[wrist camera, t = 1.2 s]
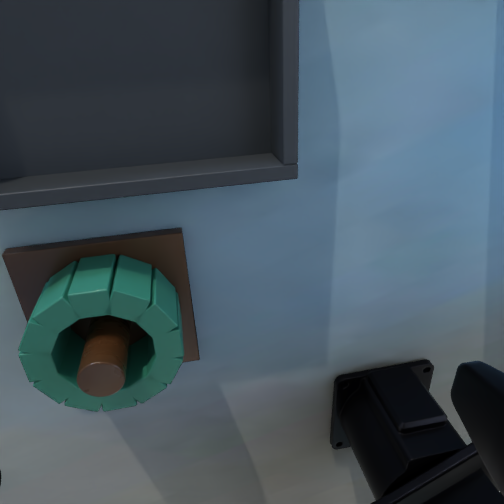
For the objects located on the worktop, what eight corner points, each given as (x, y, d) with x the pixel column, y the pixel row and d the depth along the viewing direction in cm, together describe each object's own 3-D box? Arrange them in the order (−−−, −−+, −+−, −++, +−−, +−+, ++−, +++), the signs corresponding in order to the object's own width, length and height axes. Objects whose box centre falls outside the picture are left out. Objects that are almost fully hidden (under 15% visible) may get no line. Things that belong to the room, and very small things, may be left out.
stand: (198, 352, 23) (207, 428, 18) (53, 376, 22) (26, 463, 17) (181, 227, 19) (187, 284, 15) (5, 248, 18) (-44, 316, 14)
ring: (187, 353, 22) (191, 396, 19) (60, 374, 21) (45, 423, 18) (170, 246, 19) (172, 280, 16) (20, 264, 18) (-3, 304, 15)
